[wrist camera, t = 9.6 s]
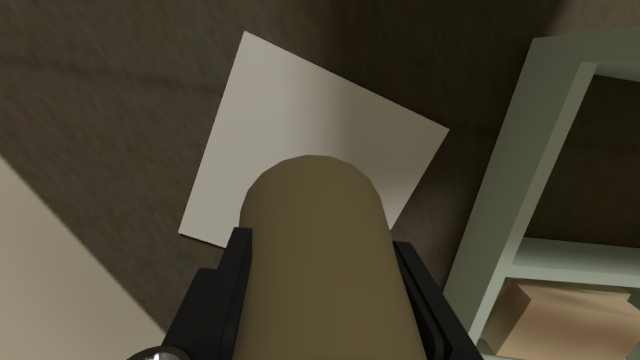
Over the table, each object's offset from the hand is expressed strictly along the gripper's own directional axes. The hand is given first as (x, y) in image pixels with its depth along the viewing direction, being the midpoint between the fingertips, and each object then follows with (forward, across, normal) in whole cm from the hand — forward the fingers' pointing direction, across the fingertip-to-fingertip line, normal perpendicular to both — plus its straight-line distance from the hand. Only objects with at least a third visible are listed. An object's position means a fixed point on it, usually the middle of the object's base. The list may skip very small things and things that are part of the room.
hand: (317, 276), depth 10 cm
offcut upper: (+7, -18, +7) cm, 21 cm away
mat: (+9, 0, 0) cm, 9 cm away
